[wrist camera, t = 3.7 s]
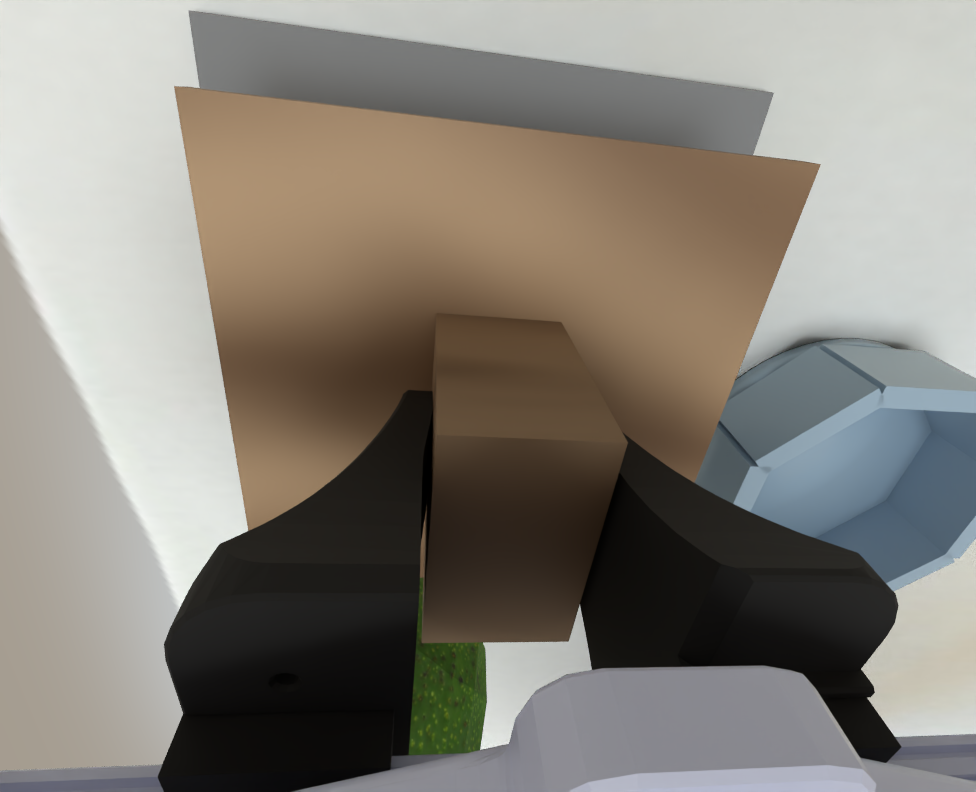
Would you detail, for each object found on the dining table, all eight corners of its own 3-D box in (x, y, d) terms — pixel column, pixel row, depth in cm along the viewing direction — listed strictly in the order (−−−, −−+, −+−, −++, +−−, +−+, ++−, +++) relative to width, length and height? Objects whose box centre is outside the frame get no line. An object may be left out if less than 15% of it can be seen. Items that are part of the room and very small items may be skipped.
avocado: (481, 620, 27) (510, 951, 16) (328, 635, 26) (259, 985, 16) (473, 505, 23) (505, 849, 12) (292, 521, 22) (168, 892, 12)
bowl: (853, 543, 26) (916, 611, 23) (648, 540, 25) (683, 612, 21) (980, 347, 21) (1088, 398, 17) (726, 328, 19) (789, 380, 16)
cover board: (649, 564, 18) (728, 736, 13) (261, 561, 16) (189, 756, 11) (803, 161, 12) (1066, 209, 7) (187, 86, 10) (-50, 78, 5)
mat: (631, 500, 23) (634, 506, 23) (262, 490, 21) (259, 496, 21) (766, 92, 15) (773, 92, 15) (194, 12, 13) (188, 10, 13)
